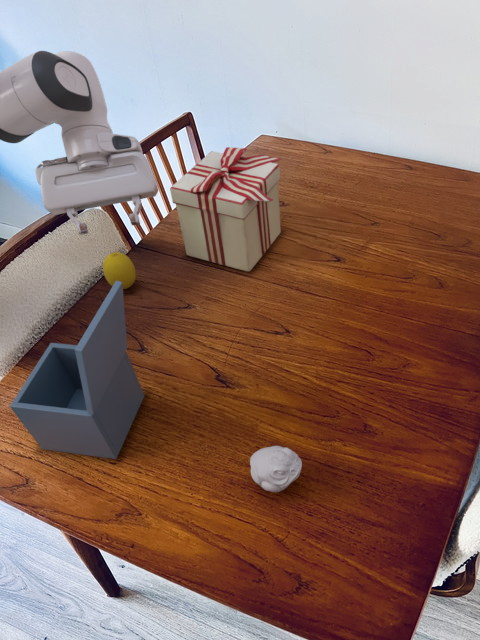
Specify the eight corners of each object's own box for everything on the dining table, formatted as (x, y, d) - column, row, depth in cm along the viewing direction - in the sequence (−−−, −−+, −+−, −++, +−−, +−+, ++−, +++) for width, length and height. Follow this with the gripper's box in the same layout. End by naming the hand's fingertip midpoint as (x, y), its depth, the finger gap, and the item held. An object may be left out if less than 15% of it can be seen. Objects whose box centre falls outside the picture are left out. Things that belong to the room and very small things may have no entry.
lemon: (140, 277, 100) (128, 241, 94) (140, 295, 96) (128, 260, 90) (111, 281, 100) (98, 246, 94) (110, 300, 96) (96, 265, 90)
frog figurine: (292, 511, 66) (290, 484, 61) (244, 492, 68) (237, 465, 63) (310, 472, 70) (309, 443, 65) (263, 455, 72) (258, 427, 67)
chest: (41, 449, 75) (9, 406, 67) (76, 387, 82) (50, 342, 75) (116, 459, 73) (91, 416, 65) (144, 395, 80) (125, 349, 73)
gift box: (269, 277, 97) (261, 193, 84) (182, 261, 102) (162, 179, 89) (299, 227, 107) (296, 145, 94) (219, 214, 112) (205, 135, 99)
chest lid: (74, 349, 55) (81, 351, 55) (116, 280, 63) (122, 281, 63) (87, 413, 65) (93, 414, 65) (122, 346, 72) (127, 348, 72)
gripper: (26, 156, 89) (46, 236, 90) (145, 136, 92) (162, 214, 93) (38, 168, 96) (57, 243, 97) (149, 149, 98) (166, 222, 99)
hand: (109, 229), depth 95 cm, fingers open, 8 cm apart
